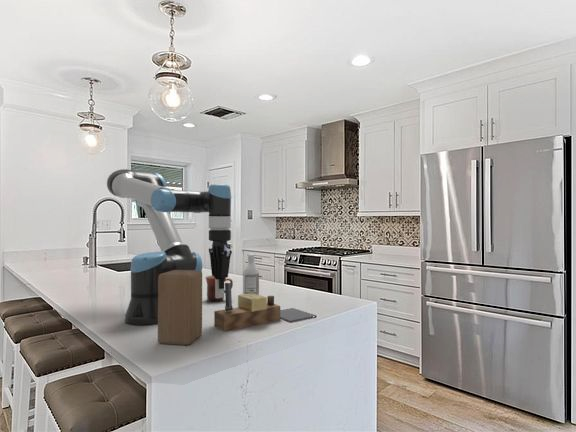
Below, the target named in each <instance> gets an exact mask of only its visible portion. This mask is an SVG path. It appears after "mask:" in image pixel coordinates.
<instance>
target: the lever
mask: <svg viewBox="0 0 576 432" xmlns="http://www.w3.org/2000/svg"><path fill="white" fill-rule="evenodd" d="M224 290H225V293H224V299H225V300H224V301H225V306H224V310H226V311H230V310H232V309H233V308H234V307H233V301H232V289H231V282H224Z"/></svg>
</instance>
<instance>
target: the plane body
mask: <svg viewBox="0 0 576 432" xmlns="http://www.w3.org/2000/svg"><path fill="white" fill-rule="evenodd" d="M266 297H267V309H265V310H259V311H253V312H251V311H248V310H246V309H243V308H240V307H238V306H237V307H233V309H232V310H230V311H226V310H225V309H219V310H214V313H213V314H214V318H213V319H214V321H213V323H214V324H213V325H214V326H213V327H215V328H217V329H219V330H221V331H222V332H229V331H232V330H237V329H238V330H239V329H242V328H243V329H244V328H247V327H252V326H258V325H263V324H267V323H268V324H269V323H273V322H278V321H281V319H280V310H281V305H279V304H275V296H274V295H267V296H266Z"/></svg>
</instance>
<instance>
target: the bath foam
mask: <svg viewBox="0 0 576 432" xmlns="http://www.w3.org/2000/svg"><path fill="white" fill-rule="evenodd" d="M255 255H256V254H255V253H249V254H247V263H246V264H245V267H244V268H243V271H242V274H243V277H242V281H243V282H242V292H243V293H242V295H243V294H250V293H254V294H257V295H260V272H259V268H258V266H257V264H256V262H255Z"/></svg>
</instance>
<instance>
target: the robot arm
mask: <svg viewBox="0 0 576 432" xmlns="http://www.w3.org/2000/svg"><path fill="white" fill-rule="evenodd" d="M106 187H107V189H108V191H109V192H110V194H111V195H113V196H115V197H118V198H121V199H131V200H134V201H136V204H137V206H138V207H141V208H143V209H142V210H143V211H144V213H145V216H146V218H147V220H148V223H149V225H150V228H151V229H152V232H153V234H154V237H155V239H156V241H157V244H158V247H159V249H160V250H161V251H153V252H151V251H149V252H145V253H141V254H140V253H139V254H136V255H135V256H134V257H132V258H131V261H130V269H129V270H130V299H129V303H128V306H127V309H126V311H125V316H124V321H125V323H126V324H128V325H133V326H144V325H145V326H146V325H155V324H158V276H159V274H162V273H165V272H169V271H172V270H199V271H201V272H202V273H203V259H202V257H201V255H200V254H199V253H198V252H197V253H196V252H195V251H194V252H192V251H191V249H190V246H189V245H188V244H186V243H184V242H183V241H182V238H181V236H180V234H179V232H178V230H177V227H176V226H175V222H174V221H173V219H172V218H173V217H172V216H171V213H194V214H200V213H202V214H203V213H208V228H209V230H208V240H209V241H210V242H212V243H211V248H210V247H209V248H208V252H209V253H208V254H209V259H210V261H209V262H210V269H211V270H210V271H211V276H214V278H215V298H224V299H225V293H224V290H225V282H224V279H225V278H229V273H230V272H229V271H230V263H231V256H232V254H233V251H232V249H229V244H228V241H231V240H232V239H231V238H232V231H231V228H232V227H231V225H232V223H231V222H232V219H231V216H232V214H231V212H232V210H231V209H232V193H231V187H230V185H228V184H223V183H222V184H221V183H220V184H219V183H216V184H215V183H214V184H210V185H209V186H208V190H207V191H195V190H178V189H174V188H169V187H167V183H166V180H165V178H164V176H162V175H161V174H160V173H157V172H153V171H144V170H134V169H125V168H124V169H116V170H115V171H112V173H110V175H109V176H108V178H107V180H106Z"/></svg>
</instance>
